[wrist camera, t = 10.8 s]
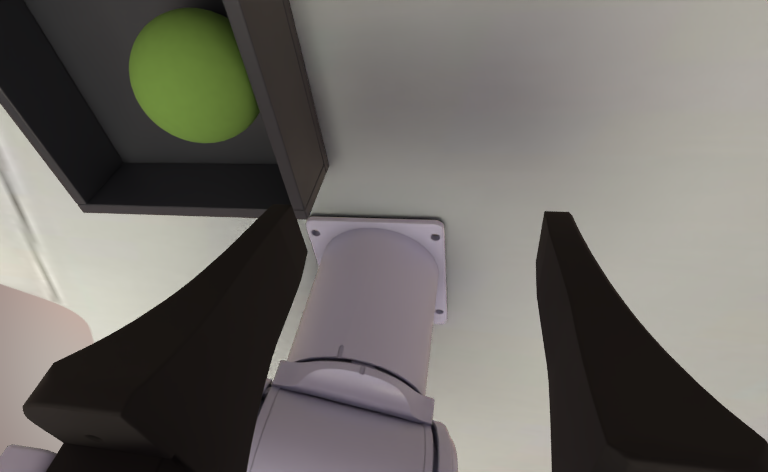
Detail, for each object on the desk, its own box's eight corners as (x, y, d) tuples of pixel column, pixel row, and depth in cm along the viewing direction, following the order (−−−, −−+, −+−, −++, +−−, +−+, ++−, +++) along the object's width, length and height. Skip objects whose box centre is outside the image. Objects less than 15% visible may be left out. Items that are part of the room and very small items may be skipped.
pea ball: (206, 59, 22) (297, 103, 21) (134, 135, 20) (230, 186, 19) (168, -42, 18) (282, 10, 17) (69, 43, 16) (193, 105, 15)
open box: (329, 166, 25) (308, 220, 22) (126, 164, 27) (83, 213, 24) (228, -248, 14) (160, -248, 11) (-93, -190, 16) (-215, -177, 14)
